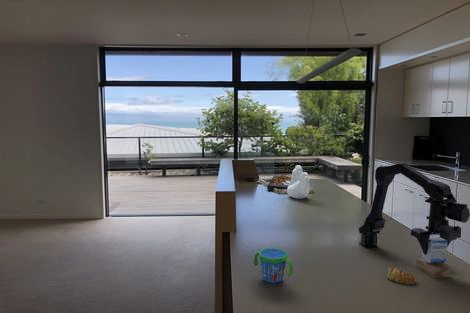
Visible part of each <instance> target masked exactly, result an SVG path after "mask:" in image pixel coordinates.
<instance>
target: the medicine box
mask: <svg viewBox="0 0 470 313" xmlns="http://www.w3.org/2000/svg"><path fill="white" fill-rule="evenodd" d="M429 239H430V240H431V241H430V242H429V243H428V250H427V254H426V255H425V254H424V253H423V251H422V250H421V258H422V259H423V260H425V261H427V262H429V263H434V262H443V261H444V262H446V261H447V251H448V247H447V243H448V241H447V240H445V239H443V238H440V236H439V237H430V238H429Z"/></svg>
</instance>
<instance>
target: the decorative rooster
mask: <svg viewBox="0 0 470 313" xmlns="http://www.w3.org/2000/svg"><path fill="white" fill-rule="evenodd" d="M291 176H292V177H291ZM291 176H290V177H291V181H290V183H289V186H288V188H287V193H288V194H287V195H288V196H289V197H291V198H293V199H298V200H299V199H300V200H302V199H305V198H306V197H308V196H309V194H310V193H309V187H310V188H311V186H310V177H309V174H308V172H306V171H303V167H302V166H301V165H300V164H299V165H298V164H297V165H295V167H294V169H293V170H292V172H291Z"/></svg>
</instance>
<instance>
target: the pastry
mask: <svg viewBox="0 0 470 313" xmlns="http://www.w3.org/2000/svg"><path fill="white" fill-rule="evenodd" d="M386 278H387V279H388V280H390V281H394V282H396V283H400V284H405V285H414V284H415V282H416V277H414V275H412V274H410V273H408V272H406V271H404V270H402V269H398V268H396V267H394V268H393V267H389V268H388V272H387V276H386Z"/></svg>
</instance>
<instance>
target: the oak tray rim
mask: <svg viewBox="0 0 470 313" xmlns="http://www.w3.org/2000/svg"><path fill="white" fill-rule="evenodd" d="M271 179H272V178H259V179H258V182H259V183H260V185H261V184H262V185H263V186H265V187H266V188H267V186H268V184H269V182H270V181H271ZM273 192H274V193H275V194H277V195H278V194H279V195H281V194H285V195H286V194H287V195H288V193H287V190H278V189H276V188H274V190H273V191H272V193H273ZM313 193H315V189H314V188H313V187H311V186H310V187H309V193H308V194H313Z"/></svg>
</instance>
